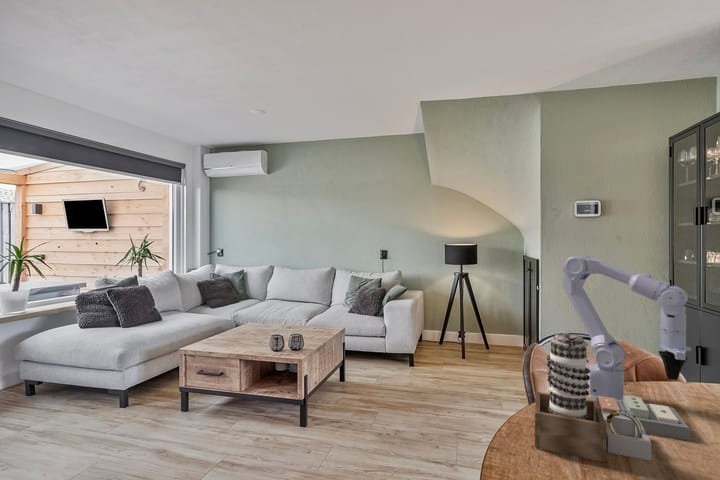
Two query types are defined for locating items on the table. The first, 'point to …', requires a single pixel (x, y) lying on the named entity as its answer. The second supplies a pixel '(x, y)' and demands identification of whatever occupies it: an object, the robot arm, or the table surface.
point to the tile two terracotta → (607, 404)
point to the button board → (658, 423)
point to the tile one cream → (663, 413)
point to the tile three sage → (636, 406)
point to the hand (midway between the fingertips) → (672, 378)
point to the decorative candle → (568, 376)
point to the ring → (627, 414)
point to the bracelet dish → (627, 439)
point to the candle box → (570, 431)
